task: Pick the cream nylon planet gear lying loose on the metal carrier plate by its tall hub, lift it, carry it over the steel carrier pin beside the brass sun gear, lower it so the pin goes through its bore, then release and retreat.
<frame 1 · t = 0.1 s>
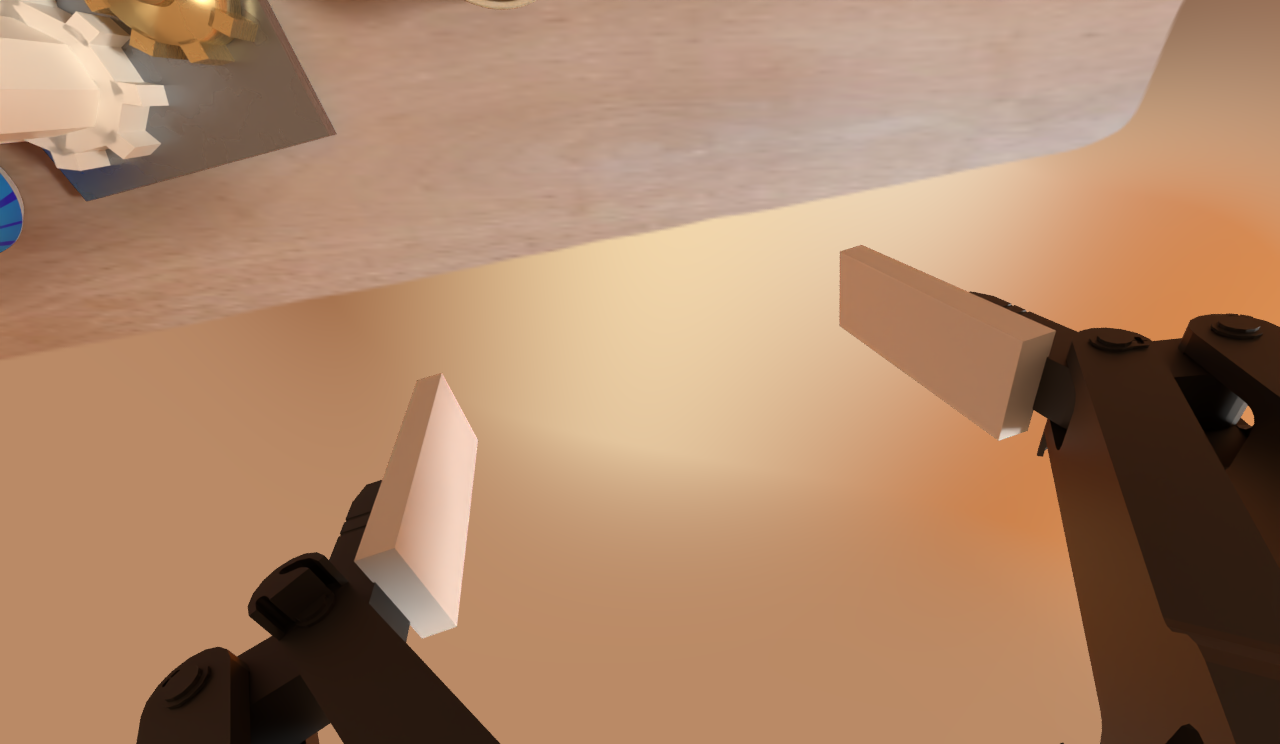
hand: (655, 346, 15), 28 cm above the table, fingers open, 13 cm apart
planet gear: (71, 81, 28), point 1 cm above the table, touching carrier
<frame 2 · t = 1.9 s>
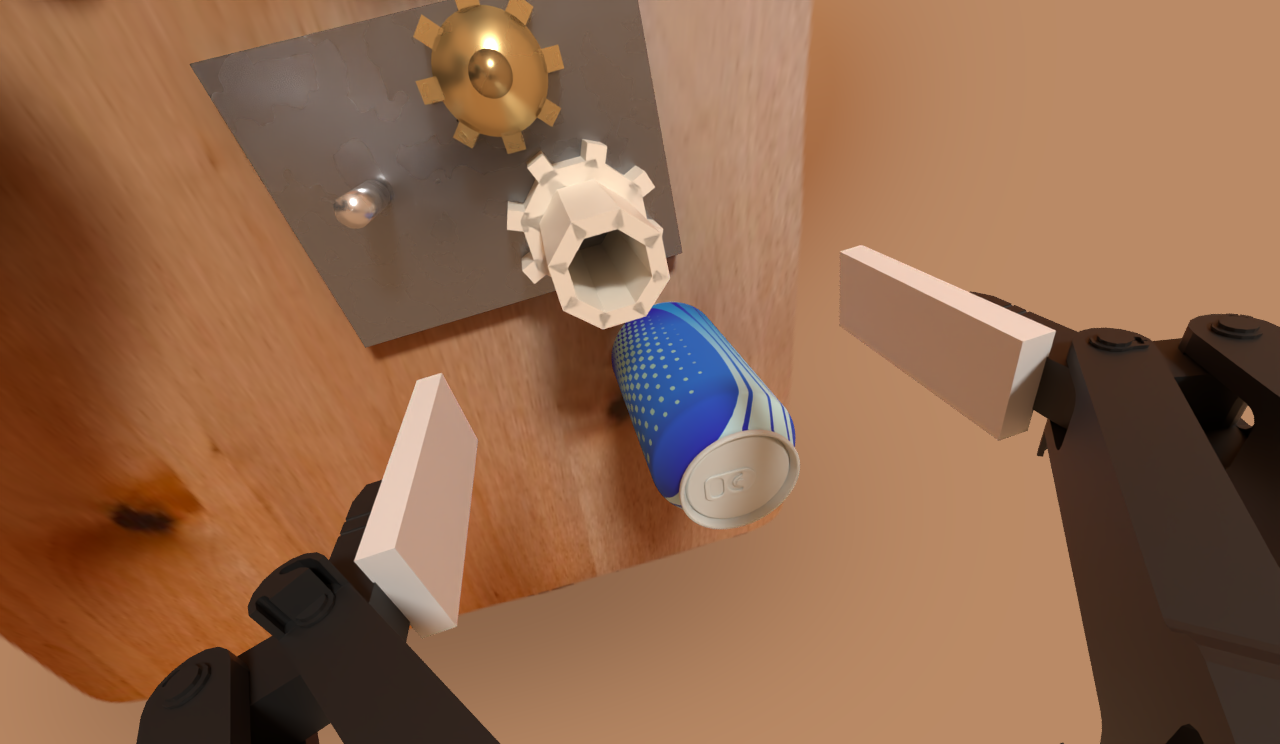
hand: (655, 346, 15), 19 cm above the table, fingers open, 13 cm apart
carrier: (482, 172, 29), on the table
planet gear: (582, 219, 30), point 1 cm above the table, touching carrier
beer can: (659, 344, 38), on the table
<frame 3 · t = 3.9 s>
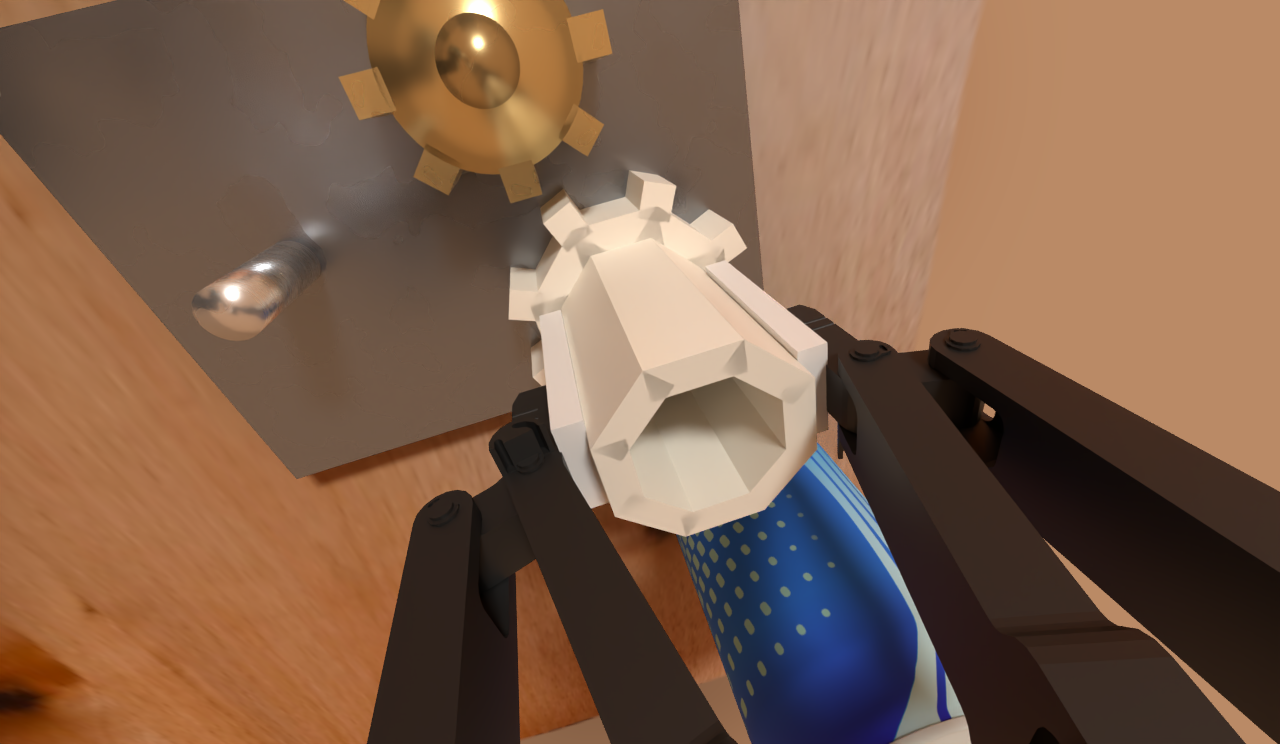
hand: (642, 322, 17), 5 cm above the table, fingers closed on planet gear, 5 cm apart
carrier: (471, 220, 19), on the table
planet gear: (624, 290, 20), point 2 cm above the table, touching carrier, gripper
beer can: (720, 443, 28), on the table
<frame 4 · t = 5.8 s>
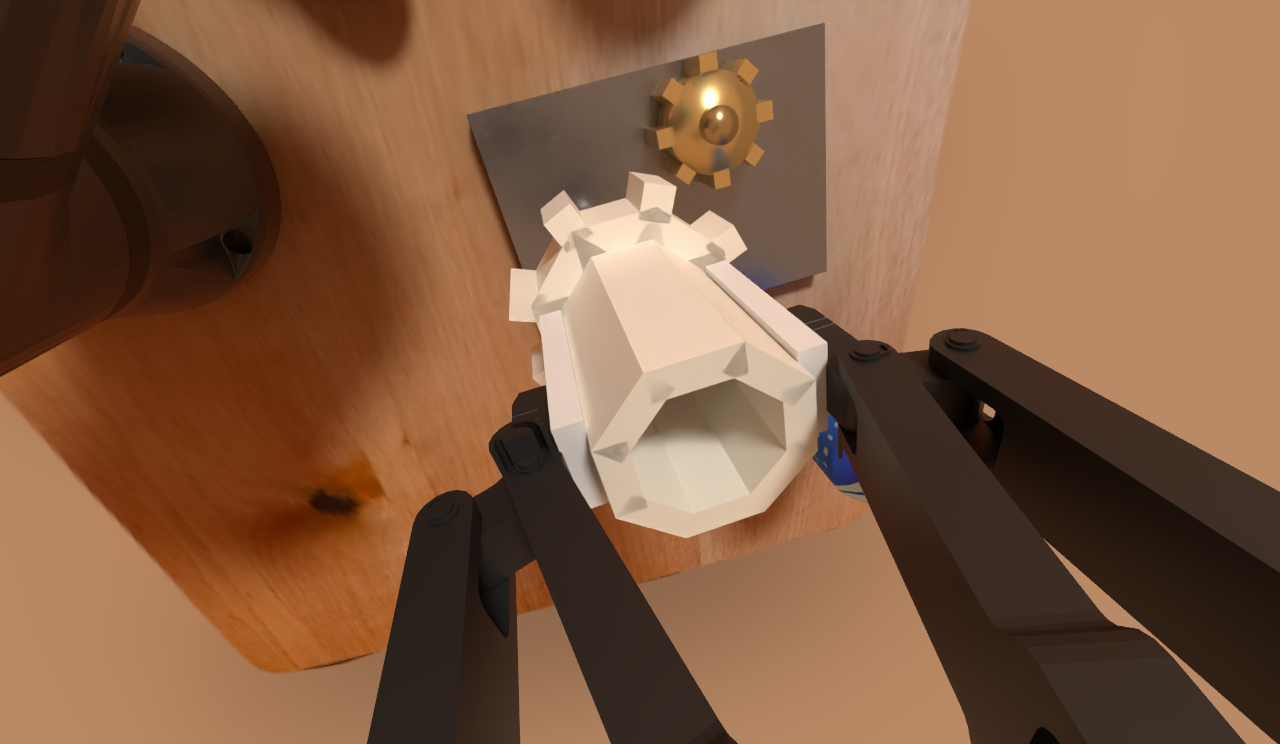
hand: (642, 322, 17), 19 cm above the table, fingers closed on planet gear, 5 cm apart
carrier: (668, 201, 34), on the table
planet gear: (625, 291, 20), point 15 cm above the table, touching gripper
beer can: (788, 351, 42), on the table
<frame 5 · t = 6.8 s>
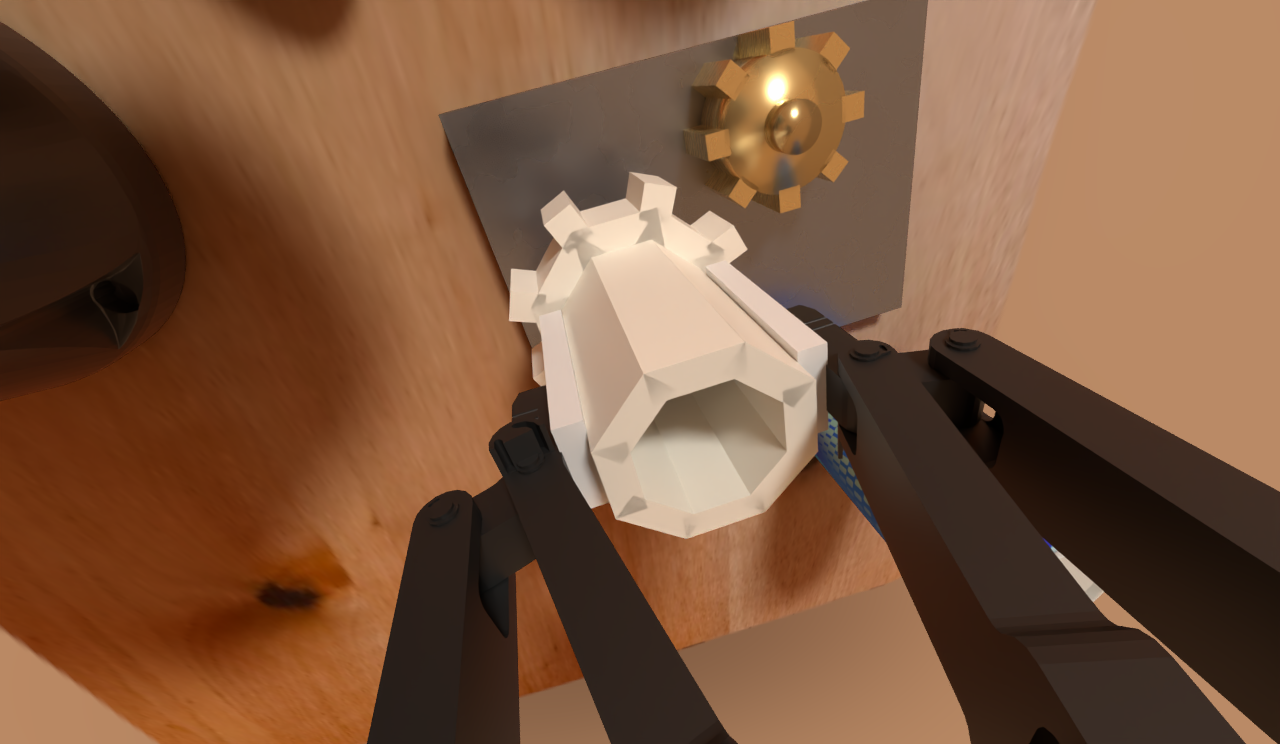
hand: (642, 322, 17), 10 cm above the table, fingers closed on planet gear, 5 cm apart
carrier: (707, 224, 26), on the table
planet gear: (625, 291, 20), point 6 cm above the table, touching gripper
beer can: (843, 399, 35), on the table
when the fingers open (6 cm above the table, at t = 7.8 s): planet gear drops 1 cm, resting on carrier.
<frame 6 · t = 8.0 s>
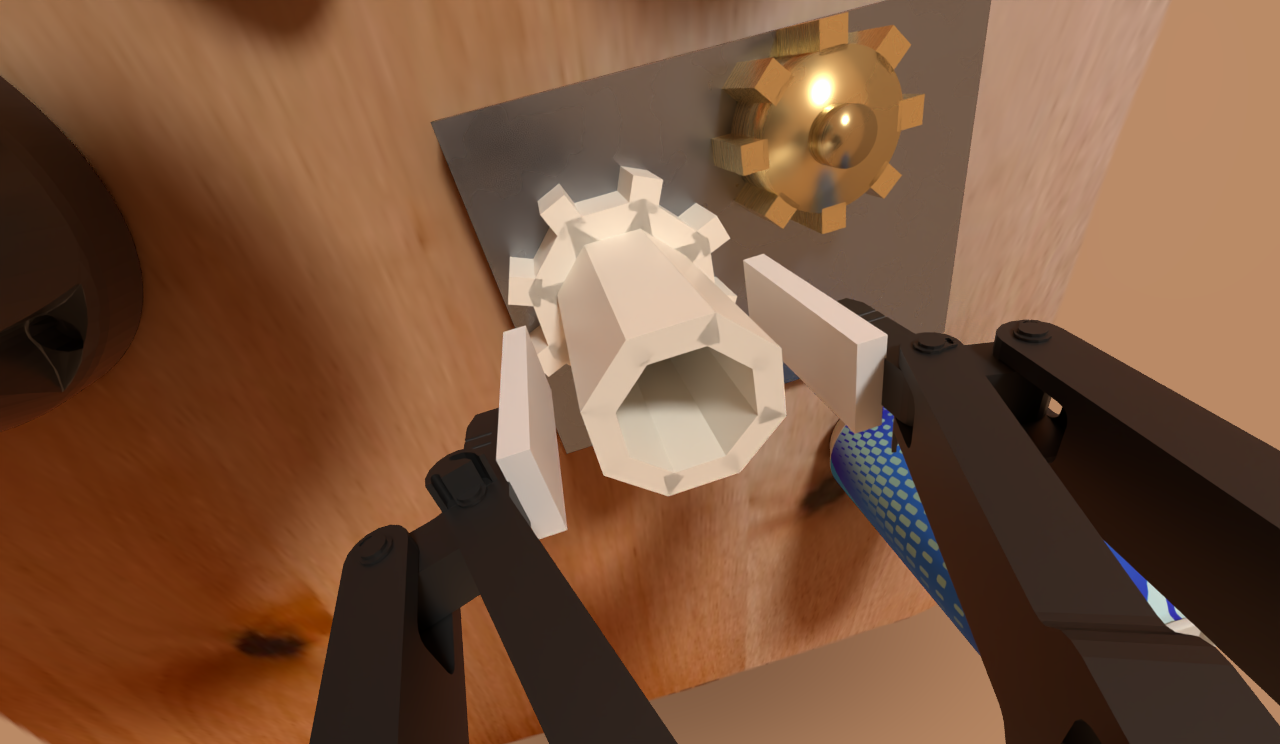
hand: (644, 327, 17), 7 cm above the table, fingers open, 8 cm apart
carrier: (734, 242, 23), on the table
planet gear: (617, 279, 21), point 1 cm above the table, touching carrier
beer can: (875, 428, 32), on the table
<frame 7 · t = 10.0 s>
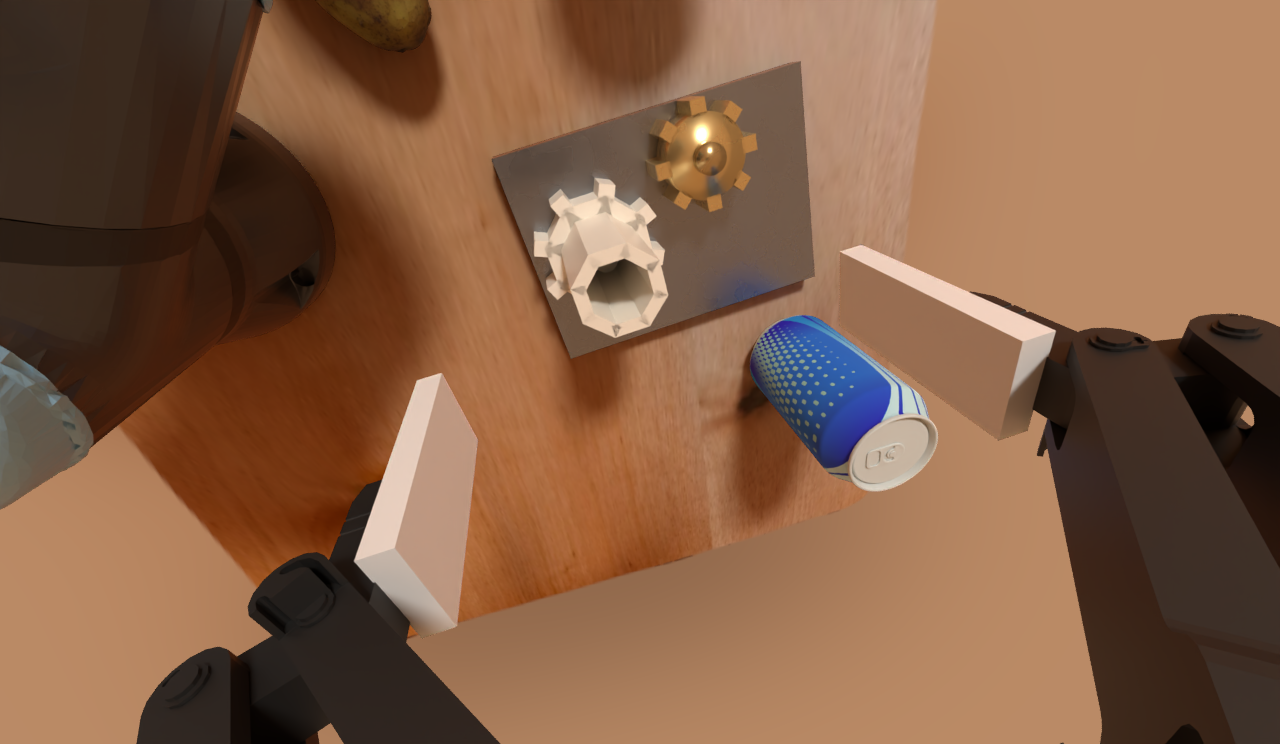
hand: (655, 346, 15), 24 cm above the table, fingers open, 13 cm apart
carrier: (668, 220, 38), on the table
planet gear: (596, 244, 36), point 1 cm above the table, touching carrier
beer can: (784, 349, 46), on the table
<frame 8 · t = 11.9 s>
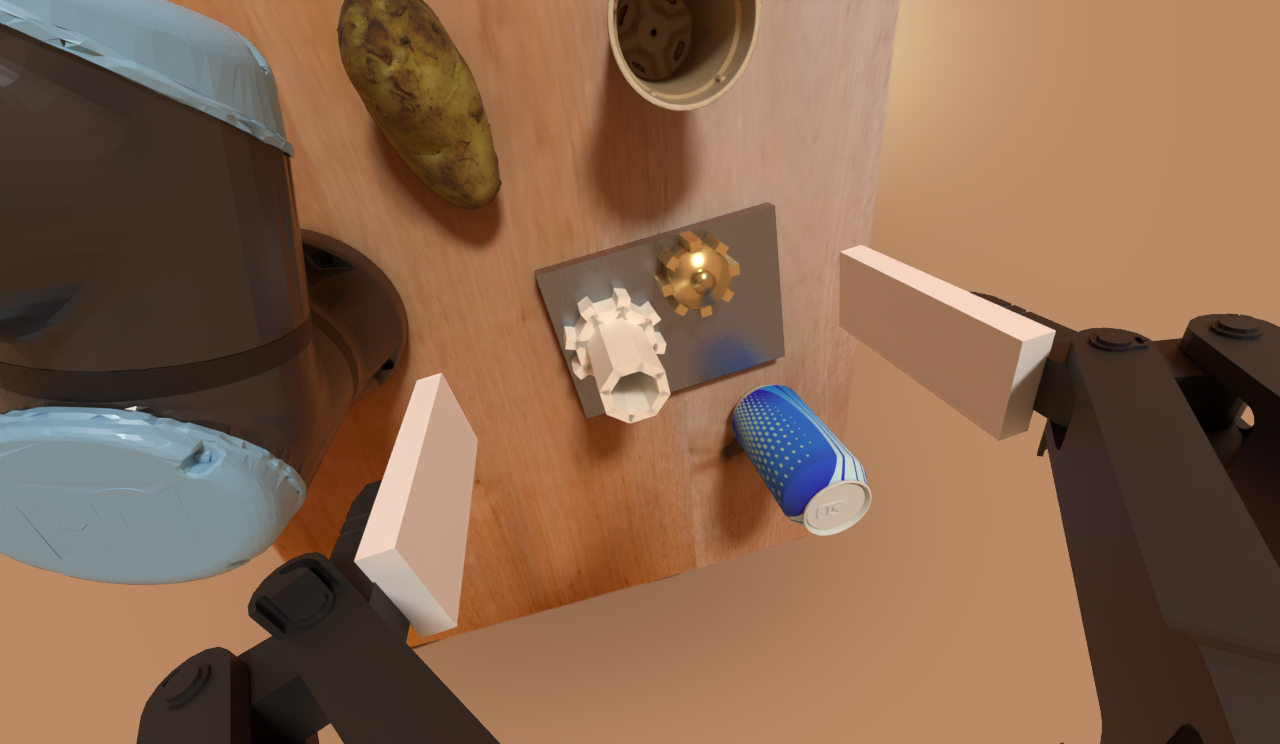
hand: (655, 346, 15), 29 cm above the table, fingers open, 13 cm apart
carrier: (669, 314, 47), on the table
potato: (436, 111, 35), on the table
planet gear: (612, 334, 45), point 1 cm above the table, touching carrier
flower pot: (651, 35, 36), on the table
beer can: (760, 408, 56), on the table
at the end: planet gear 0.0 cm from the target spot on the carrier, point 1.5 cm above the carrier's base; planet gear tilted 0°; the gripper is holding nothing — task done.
